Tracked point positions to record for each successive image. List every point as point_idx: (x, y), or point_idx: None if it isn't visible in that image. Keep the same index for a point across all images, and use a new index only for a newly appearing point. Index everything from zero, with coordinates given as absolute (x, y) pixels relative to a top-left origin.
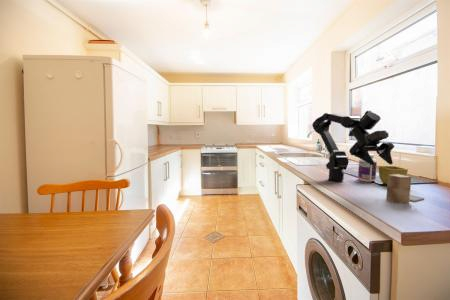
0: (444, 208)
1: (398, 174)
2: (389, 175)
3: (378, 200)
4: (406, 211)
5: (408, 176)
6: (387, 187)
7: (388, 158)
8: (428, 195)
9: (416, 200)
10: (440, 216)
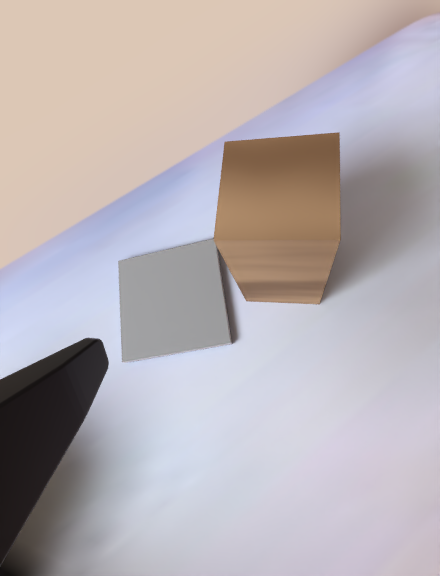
0: (184, 161)
1: (224, 233)
2: (338, 230)
3: (389, 298)
4: (394, 148)
5: (230, 156)
6: (327, 279)
7: (27, 415)
8: (31, 306)
9: (190, 246)
10: (304, 99)
